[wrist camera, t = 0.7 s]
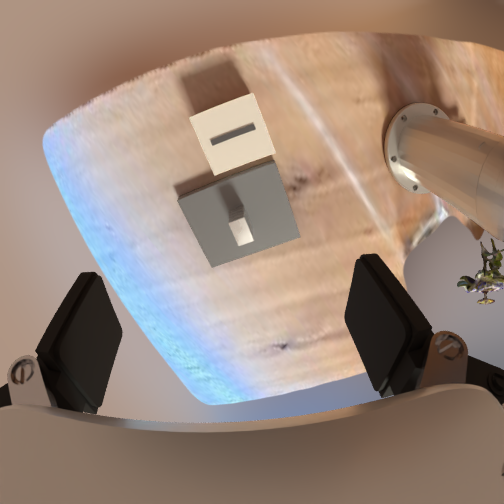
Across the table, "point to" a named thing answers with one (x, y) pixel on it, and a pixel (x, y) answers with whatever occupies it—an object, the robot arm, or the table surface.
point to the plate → (257, 208)
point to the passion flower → (485, 276)
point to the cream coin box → (233, 134)
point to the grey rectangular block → (240, 225)
